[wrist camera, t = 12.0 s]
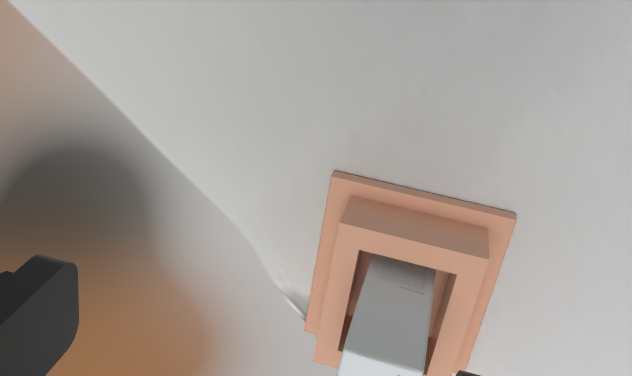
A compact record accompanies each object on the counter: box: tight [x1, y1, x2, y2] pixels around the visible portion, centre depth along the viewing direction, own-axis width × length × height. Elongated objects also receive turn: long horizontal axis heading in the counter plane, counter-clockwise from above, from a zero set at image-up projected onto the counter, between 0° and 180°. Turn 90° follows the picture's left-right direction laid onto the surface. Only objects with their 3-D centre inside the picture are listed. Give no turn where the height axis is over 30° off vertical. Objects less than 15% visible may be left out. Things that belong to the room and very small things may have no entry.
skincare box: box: [336, 253, 436, 376], centre depth 36 cm, size 6×4×12 cm
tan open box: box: [304, 171, 516, 376], centre depth 40 cm, size 12×13×5 cm
